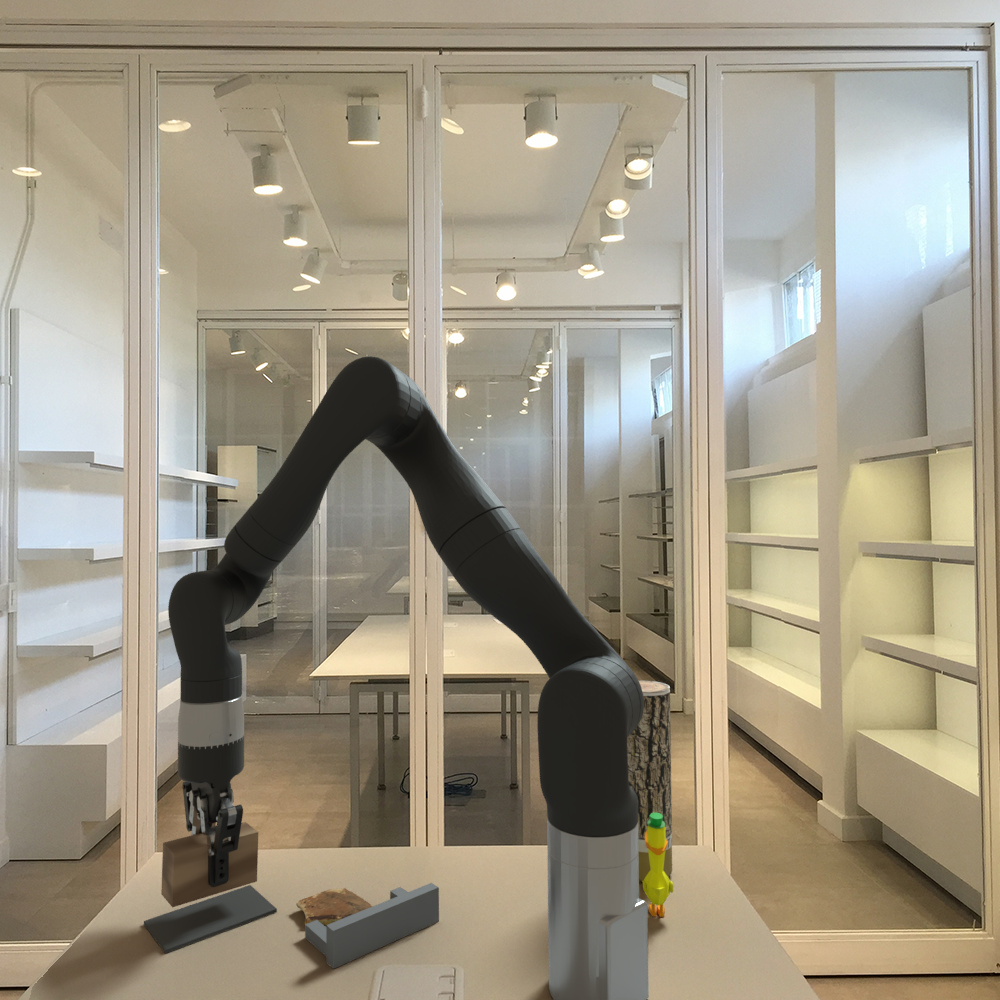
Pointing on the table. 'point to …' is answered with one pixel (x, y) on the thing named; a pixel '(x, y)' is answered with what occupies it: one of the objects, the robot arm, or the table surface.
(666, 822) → the bark log stump
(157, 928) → the rest mat
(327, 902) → the shard
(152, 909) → the table surface
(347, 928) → the dock
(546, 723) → the robot arm
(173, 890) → the block
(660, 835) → the toy figure
